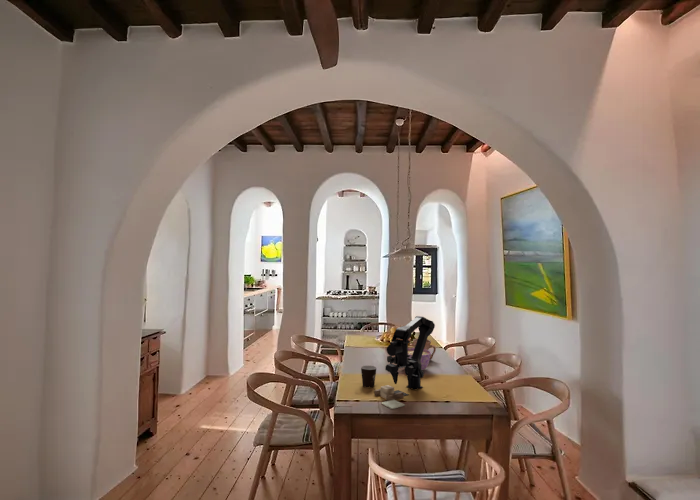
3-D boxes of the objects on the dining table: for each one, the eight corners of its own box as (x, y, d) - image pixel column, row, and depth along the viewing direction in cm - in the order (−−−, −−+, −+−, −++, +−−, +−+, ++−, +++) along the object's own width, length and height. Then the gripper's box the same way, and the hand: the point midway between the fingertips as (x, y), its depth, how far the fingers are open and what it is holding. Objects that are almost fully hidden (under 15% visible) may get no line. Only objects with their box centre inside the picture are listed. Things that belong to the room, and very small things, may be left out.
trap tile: (398, 390, 208) (398, 390, 208) (408, 394, 201) (408, 394, 201) (391, 392, 205) (391, 391, 205) (401, 396, 198) (401, 396, 198)
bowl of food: (429, 366, 257) (429, 348, 257) (432, 374, 237) (433, 355, 237) (399, 364, 259) (399, 347, 259) (399, 373, 239) (400, 354, 239)
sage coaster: (393, 400, 193) (393, 399, 193) (404, 405, 186) (404, 404, 186) (381, 403, 188) (381, 402, 188) (392, 409, 182) (392, 407, 182)
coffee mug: (367, 389, 209) (367, 370, 210) (357, 385, 216) (357, 366, 216) (383, 385, 216) (383, 367, 216) (373, 381, 223) (373, 363, 223)
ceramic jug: (409, 362, 266) (409, 341, 266) (409, 357, 280) (409, 337, 280) (436, 364, 263) (436, 343, 263) (434, 358, 277) (435, 338, 277)
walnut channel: (389, 391, 206) (389, 386, 206) (403, 397, 197) (403, 392, 197) (374, 395, 201) (374, 390, 201) (388, 401, 192) (388, 396, 192)
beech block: (387, 394, 202) (387, 384, 202) (394, 397, 198) (394, 387, 198) (380, 396, 199) (380, 386, 199) (386, 399, 195) (386, 389, 195)
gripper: (404, 347, 217) (404, 375, 216) (378, 351, 206) (378, 381, 206) (419, 351, 207) (419, 380, 207) (392, 356, 197) (392, 387, 196)
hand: (402, 382), depth 204 cm, fingers open, 9 cm apart
